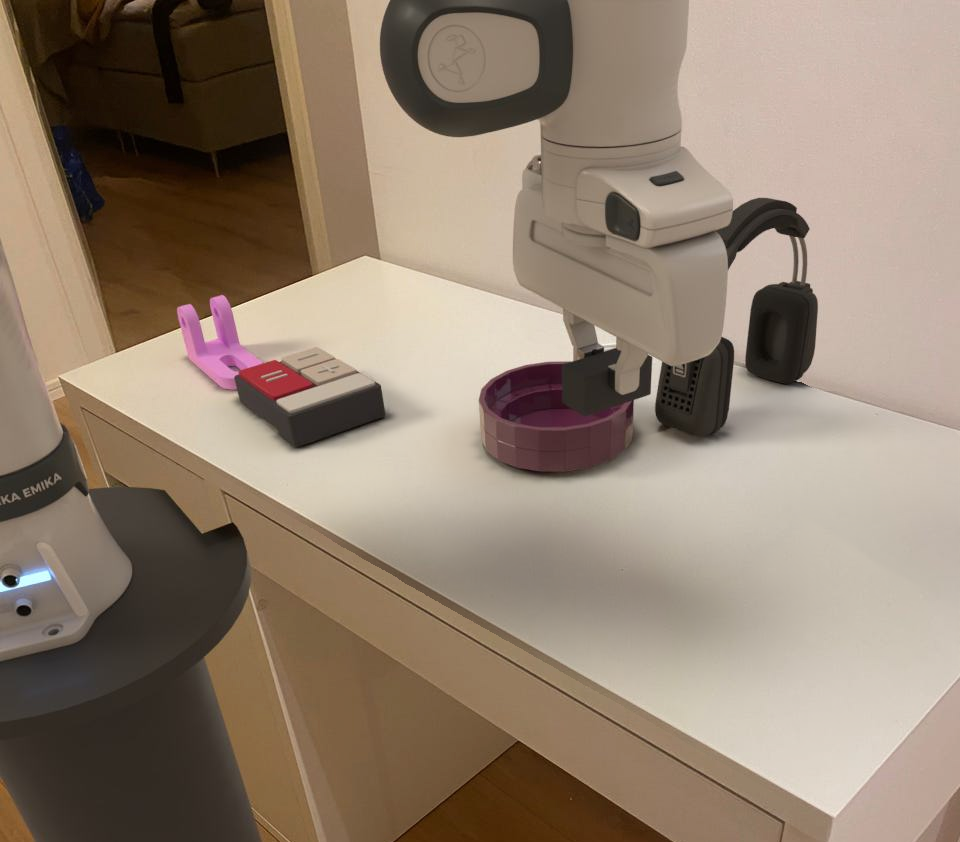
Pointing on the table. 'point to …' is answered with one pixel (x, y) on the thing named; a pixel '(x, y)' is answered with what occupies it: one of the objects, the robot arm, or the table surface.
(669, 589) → the table surface
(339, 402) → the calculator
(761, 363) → the headphones
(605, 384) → the eraser
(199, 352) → the bracket
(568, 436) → the bowl
